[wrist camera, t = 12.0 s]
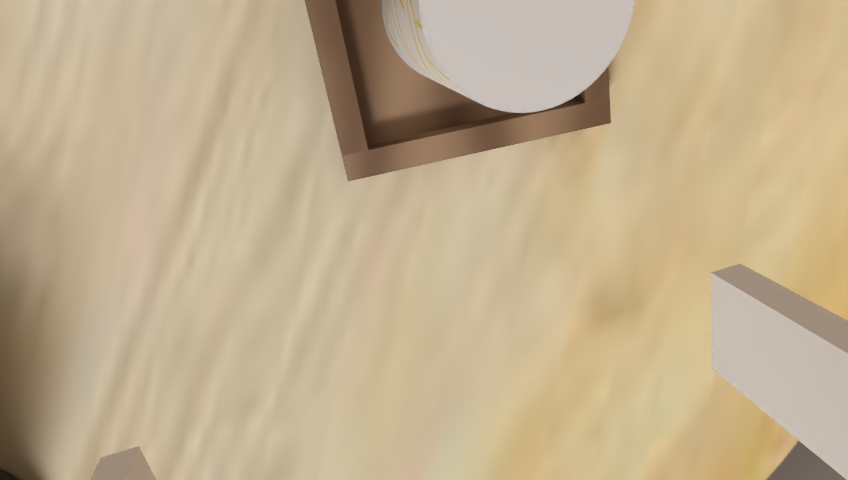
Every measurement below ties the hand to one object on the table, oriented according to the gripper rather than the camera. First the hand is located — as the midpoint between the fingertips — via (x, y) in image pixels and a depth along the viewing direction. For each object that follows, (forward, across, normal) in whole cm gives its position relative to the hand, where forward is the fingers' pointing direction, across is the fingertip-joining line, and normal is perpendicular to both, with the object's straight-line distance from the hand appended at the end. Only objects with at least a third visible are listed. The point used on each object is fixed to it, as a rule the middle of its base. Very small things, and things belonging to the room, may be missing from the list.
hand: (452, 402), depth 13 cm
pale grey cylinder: (+23, +8, +8) cm, 25 cm away
